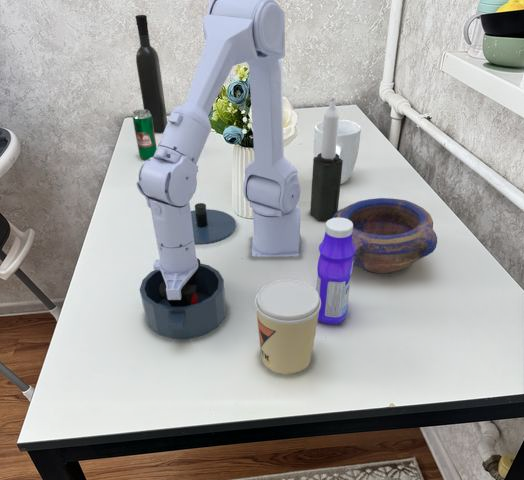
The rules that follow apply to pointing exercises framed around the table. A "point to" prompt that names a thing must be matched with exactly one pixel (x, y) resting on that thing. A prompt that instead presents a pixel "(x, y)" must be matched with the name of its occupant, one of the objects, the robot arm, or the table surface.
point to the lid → (211, 224)
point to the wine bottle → (150, 77)
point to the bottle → (335, 270)
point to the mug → (342, 144)
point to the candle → (327, 170)
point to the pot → (190, 317)
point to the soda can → (144, 133)
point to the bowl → (389, 233)
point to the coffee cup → (287, 324)
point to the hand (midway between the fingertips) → (185, 308)
